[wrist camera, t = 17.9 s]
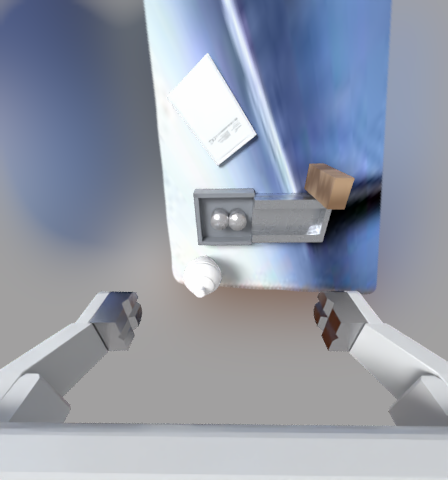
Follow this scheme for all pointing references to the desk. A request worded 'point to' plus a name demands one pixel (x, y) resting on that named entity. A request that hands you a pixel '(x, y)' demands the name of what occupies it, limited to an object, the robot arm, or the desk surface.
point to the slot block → (288, 218)
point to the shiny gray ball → (219, 219)
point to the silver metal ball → (237, 219)
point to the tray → (228, 200)
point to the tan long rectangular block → (328, 185)
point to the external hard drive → (211, 111)
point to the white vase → (202, 276)
